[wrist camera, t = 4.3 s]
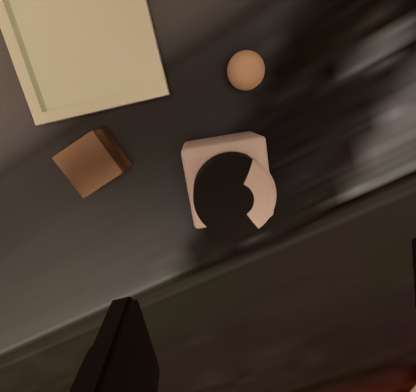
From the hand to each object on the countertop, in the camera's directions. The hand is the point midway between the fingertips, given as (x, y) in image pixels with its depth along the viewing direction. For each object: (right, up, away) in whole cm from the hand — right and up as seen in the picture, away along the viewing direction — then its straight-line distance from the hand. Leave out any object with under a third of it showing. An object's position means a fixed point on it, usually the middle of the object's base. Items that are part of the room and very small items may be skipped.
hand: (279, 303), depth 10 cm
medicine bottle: (-1, +6, +23) cm, 24 cm away
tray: (-14, +18, +19) cm, 30 cm away
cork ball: (+1, +16, +21) cm, 26 cm away
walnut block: (-13, +8, +22) cm, 27 cm away
